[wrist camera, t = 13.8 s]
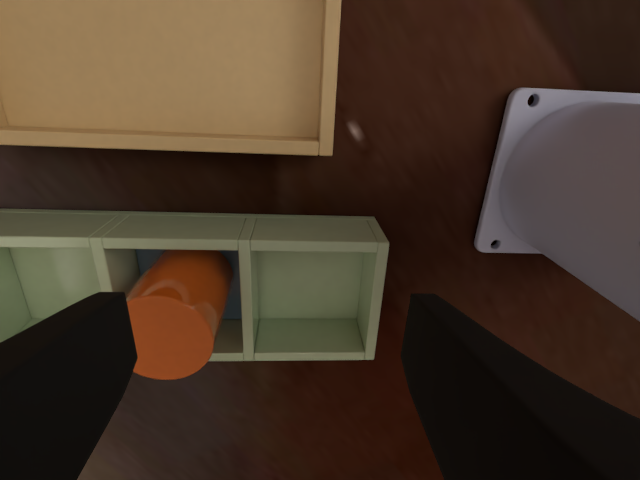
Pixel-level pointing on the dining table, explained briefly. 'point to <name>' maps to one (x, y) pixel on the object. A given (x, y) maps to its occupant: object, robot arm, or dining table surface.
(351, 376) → the dining table surface
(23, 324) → the green compartment tray
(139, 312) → the orange cylinder
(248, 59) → the birch tray
